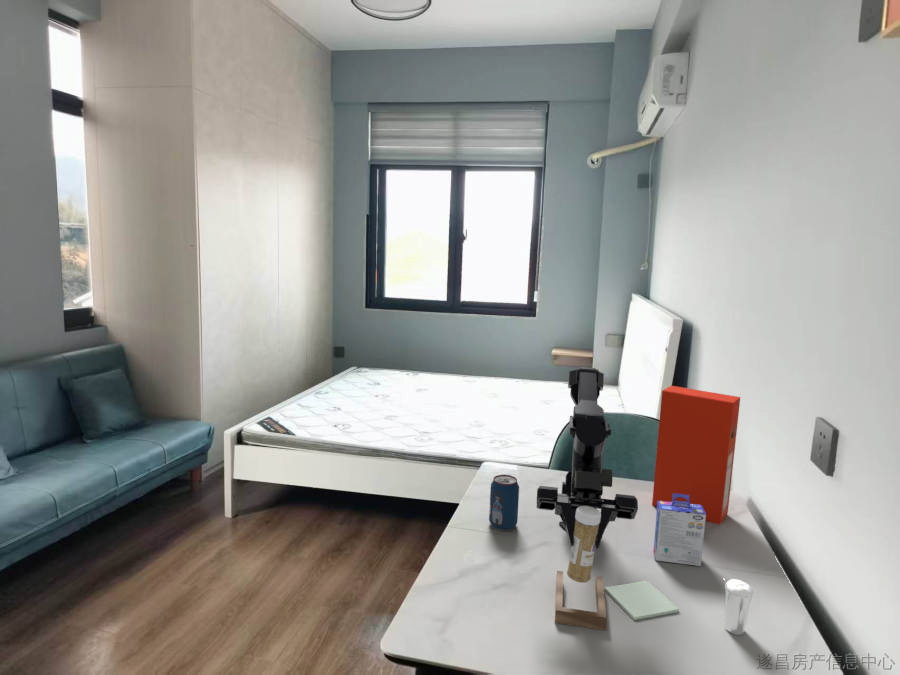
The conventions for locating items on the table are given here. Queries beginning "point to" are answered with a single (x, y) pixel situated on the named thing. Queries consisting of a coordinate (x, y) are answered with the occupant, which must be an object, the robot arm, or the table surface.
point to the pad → (641, 600)
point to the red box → (696, 449)
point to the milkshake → (737, 605)
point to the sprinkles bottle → (583, 543)
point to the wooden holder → (580, 616)
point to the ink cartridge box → (679, 531)
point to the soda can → (504, 502)
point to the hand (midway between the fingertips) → (584, 547)
